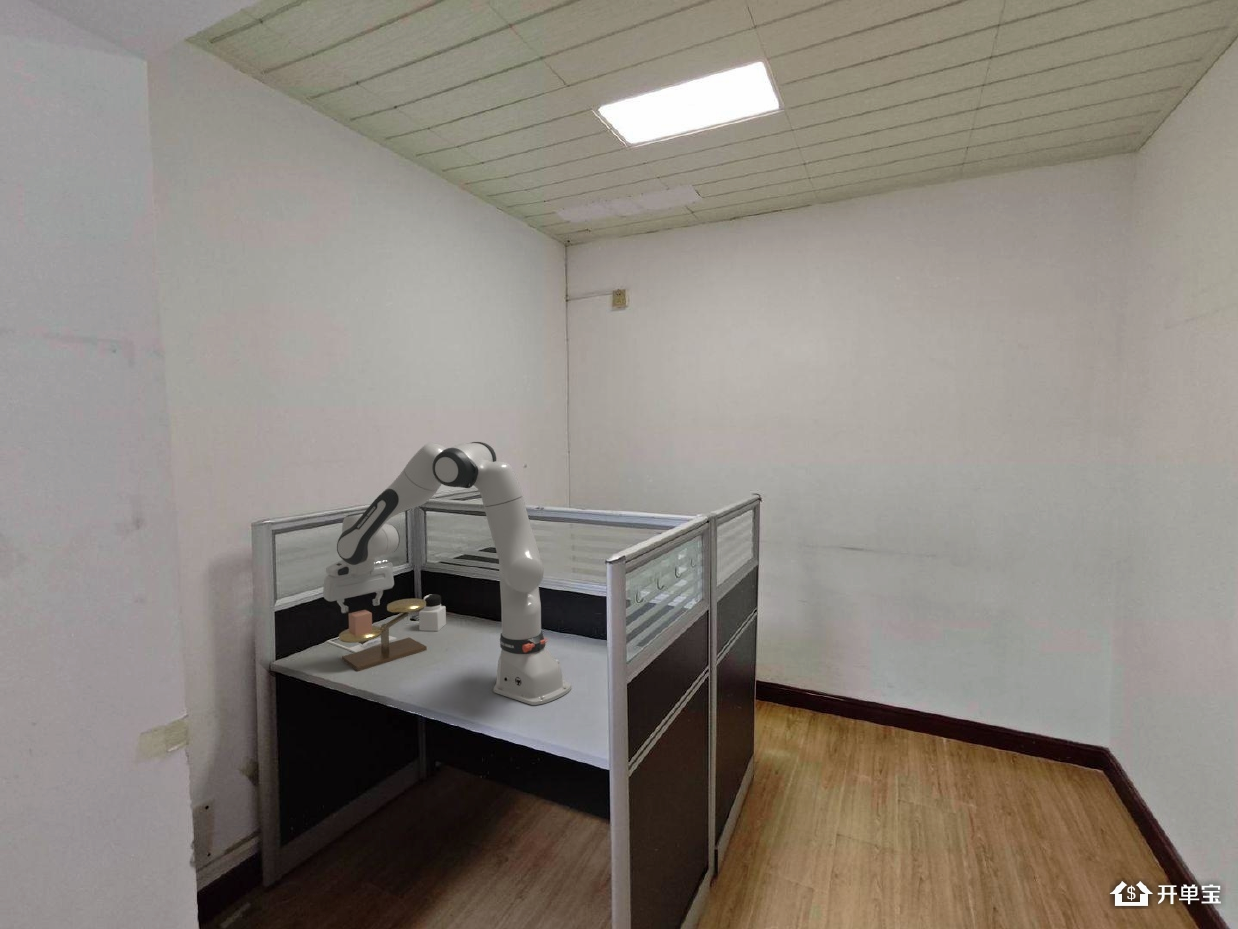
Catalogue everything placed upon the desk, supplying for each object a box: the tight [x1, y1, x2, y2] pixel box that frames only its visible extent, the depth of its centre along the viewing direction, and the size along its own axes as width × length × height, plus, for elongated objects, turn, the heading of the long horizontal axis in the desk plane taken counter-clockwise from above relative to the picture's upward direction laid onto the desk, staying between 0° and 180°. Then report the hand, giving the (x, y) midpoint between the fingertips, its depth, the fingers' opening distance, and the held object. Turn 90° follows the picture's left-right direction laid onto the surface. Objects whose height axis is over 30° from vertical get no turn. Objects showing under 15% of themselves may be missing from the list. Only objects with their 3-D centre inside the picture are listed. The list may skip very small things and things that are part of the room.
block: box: [348, 609, 373, 636], centre depth 169 cm, size 5×5×6 cm
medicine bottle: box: [418, 593, 447, 632], centre depth 200 cm, size 7×7×12 cm
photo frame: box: [326, 635, 398, 654], centre depth 187 cm, size 15×1×18 cm
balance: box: [338, 598, 427, 672], centre depth 175 cm, size 12×27×15 cm, turn 137°
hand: (360, 608), depth 169 cm, fingers open, 8 cm apart
